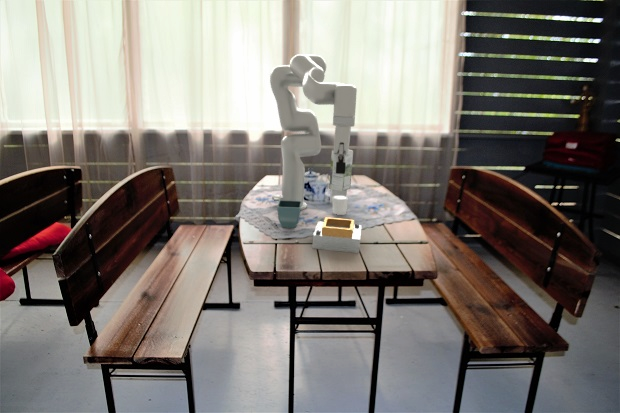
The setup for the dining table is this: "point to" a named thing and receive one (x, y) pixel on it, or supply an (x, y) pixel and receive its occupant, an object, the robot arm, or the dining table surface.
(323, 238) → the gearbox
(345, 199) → the white cylinder
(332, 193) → the grey block
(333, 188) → the syrup box
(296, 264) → the dining table surface
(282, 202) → the flower pot
